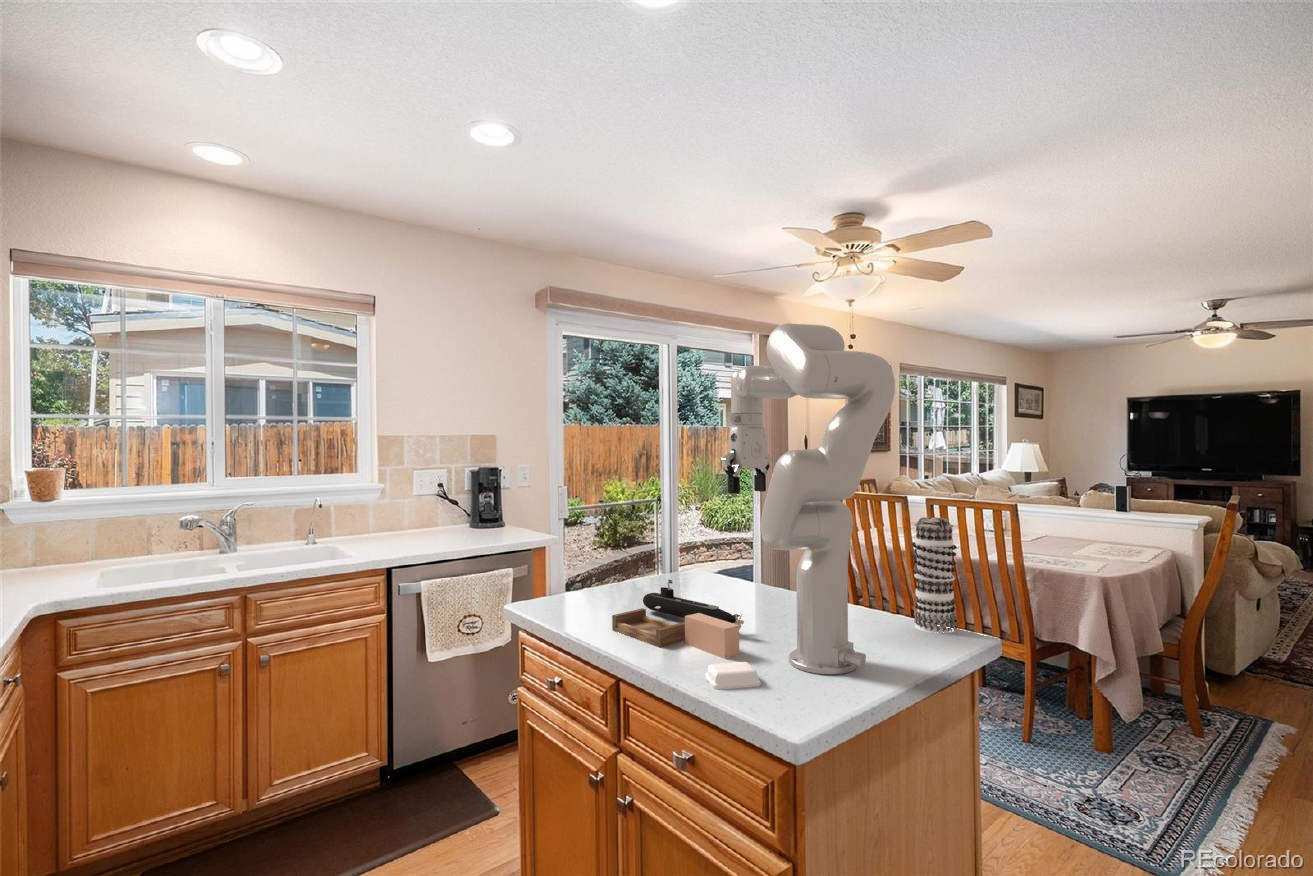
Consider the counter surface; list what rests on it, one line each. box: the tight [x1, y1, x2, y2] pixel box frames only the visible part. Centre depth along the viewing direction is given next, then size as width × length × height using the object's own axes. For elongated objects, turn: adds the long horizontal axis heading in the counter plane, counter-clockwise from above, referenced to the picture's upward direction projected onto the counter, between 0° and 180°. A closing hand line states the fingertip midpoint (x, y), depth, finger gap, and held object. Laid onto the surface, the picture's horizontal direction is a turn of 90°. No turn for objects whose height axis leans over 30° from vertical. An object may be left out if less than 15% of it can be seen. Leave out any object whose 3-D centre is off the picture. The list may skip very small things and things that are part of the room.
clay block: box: [684, 613, 740, 660], centre depth 130 cm, size 12×4×6 cm, turn 38°
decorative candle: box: [911, 516, 958, 634], centre depth 143 cm, size 9×9×25 cm
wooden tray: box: [611, 607, 685, 648], centre depth 140 cm, size 16×9×4 cm, turn 42°
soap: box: [704, 661, 762, 690], centre depth 113 cm, size 9×7×3 cm
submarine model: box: [642, 579, 745, 630], centre depth 148 cm, size 31×7×10 cm, turn 43°
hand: (747, 492), depth 153 cm, fingers open, 9 cm apart
